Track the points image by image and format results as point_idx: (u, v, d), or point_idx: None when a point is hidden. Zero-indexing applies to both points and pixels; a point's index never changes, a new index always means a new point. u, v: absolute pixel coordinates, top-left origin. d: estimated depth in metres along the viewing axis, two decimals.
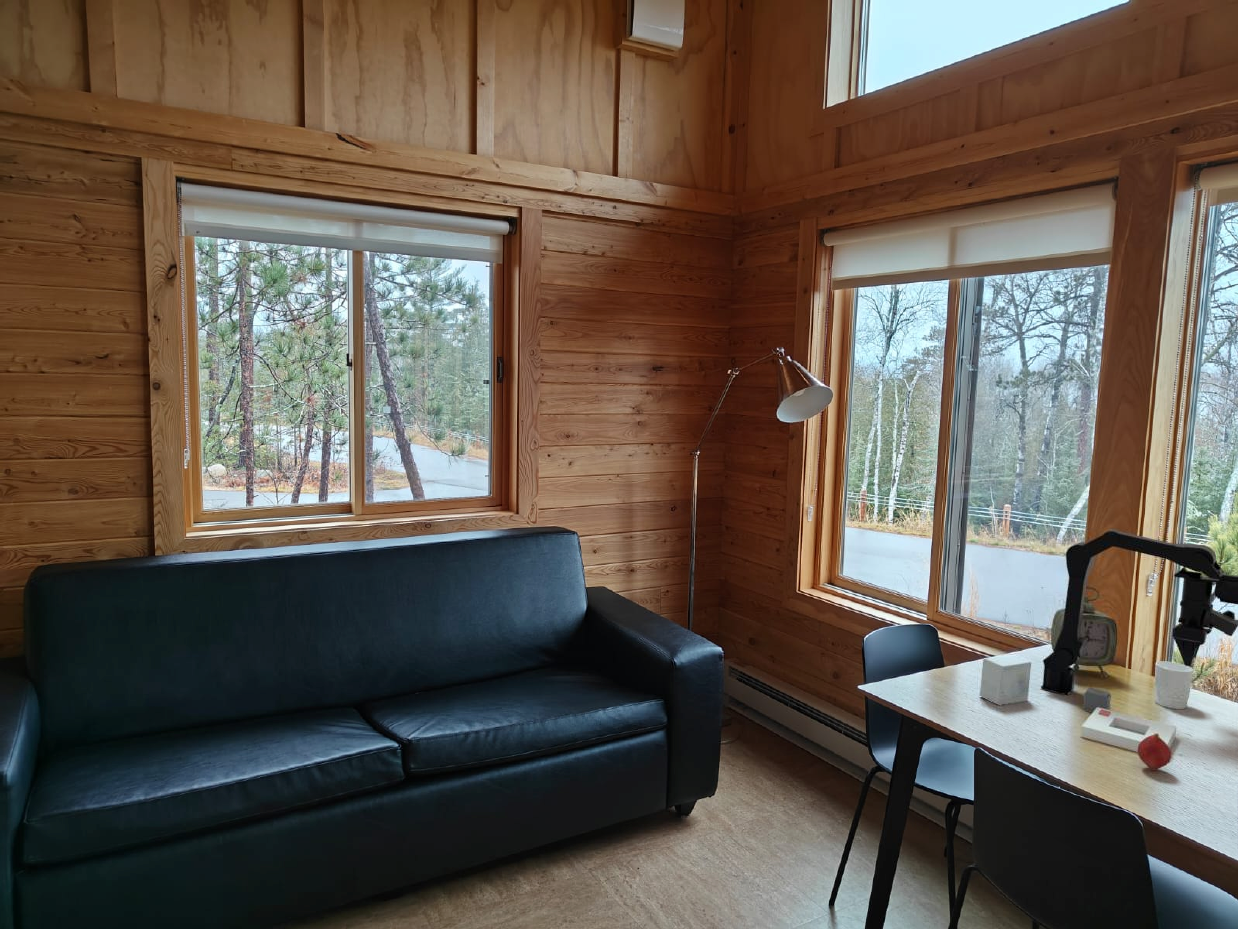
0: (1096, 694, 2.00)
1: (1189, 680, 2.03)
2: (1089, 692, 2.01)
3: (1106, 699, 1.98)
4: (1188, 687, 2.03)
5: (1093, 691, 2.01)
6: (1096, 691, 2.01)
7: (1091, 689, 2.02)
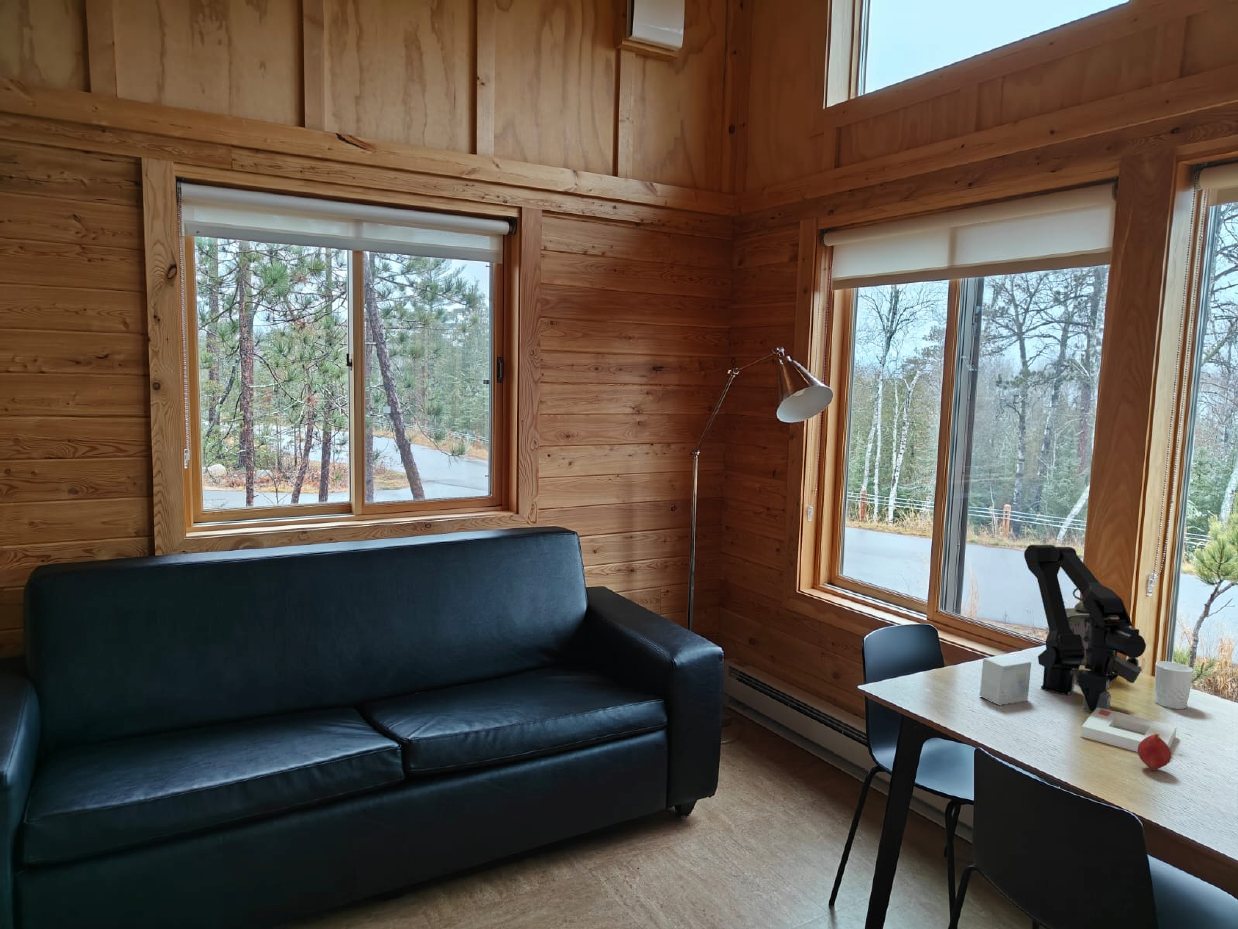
0: None
1: (1189, 680, 2.03)
2: None
3: (1106, 699, 1.98)
4: (1188, 687, 2.03)
5: None
6: None
7: None
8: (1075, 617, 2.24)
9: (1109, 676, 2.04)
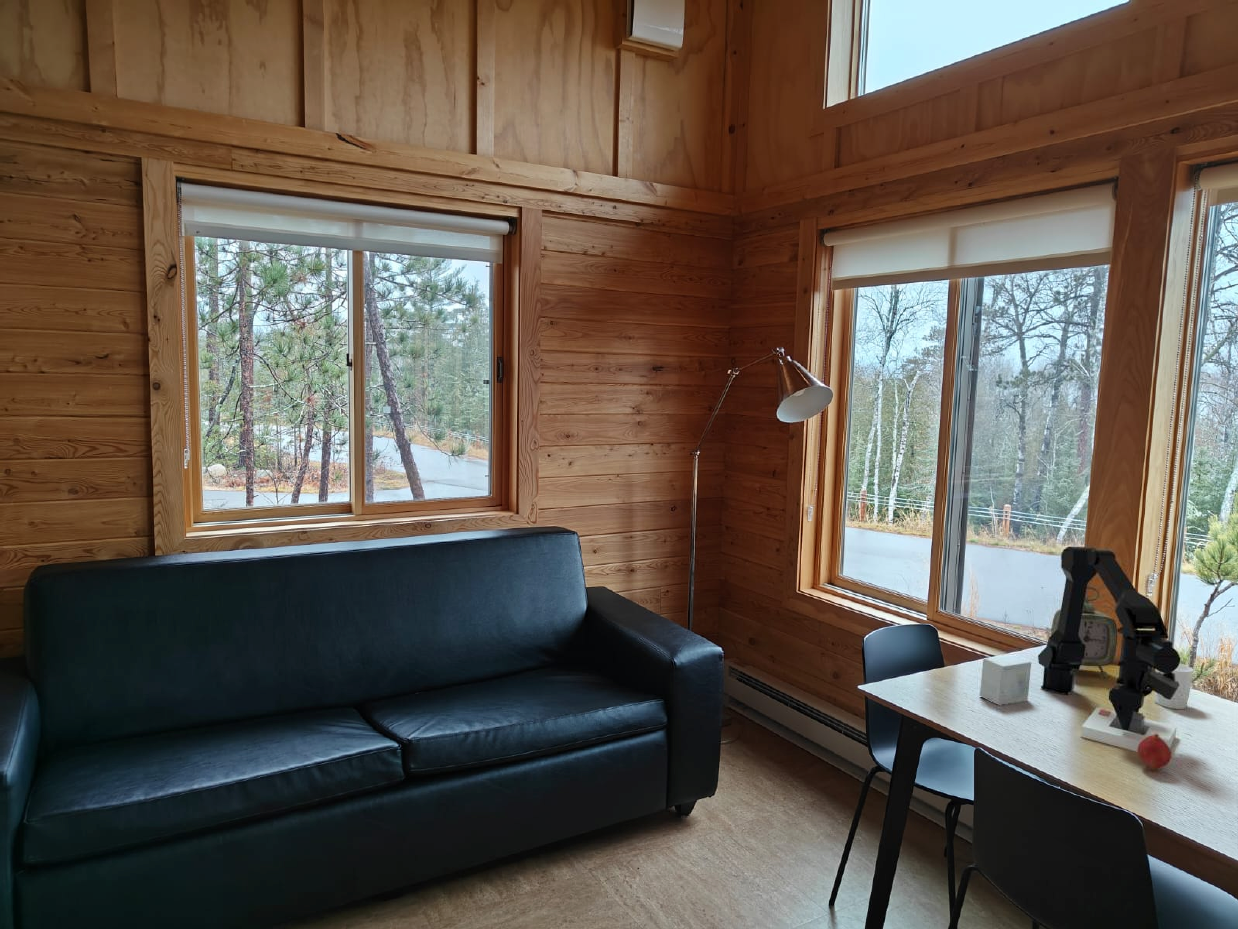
0: None
1: (1189, 680, 2.03)
2: None
3: (1140, 722, 1.82)
4: (1188, 687, 2.03)
5: None
6: None
7: None
8: None
9: (1142, 691, 1.88)
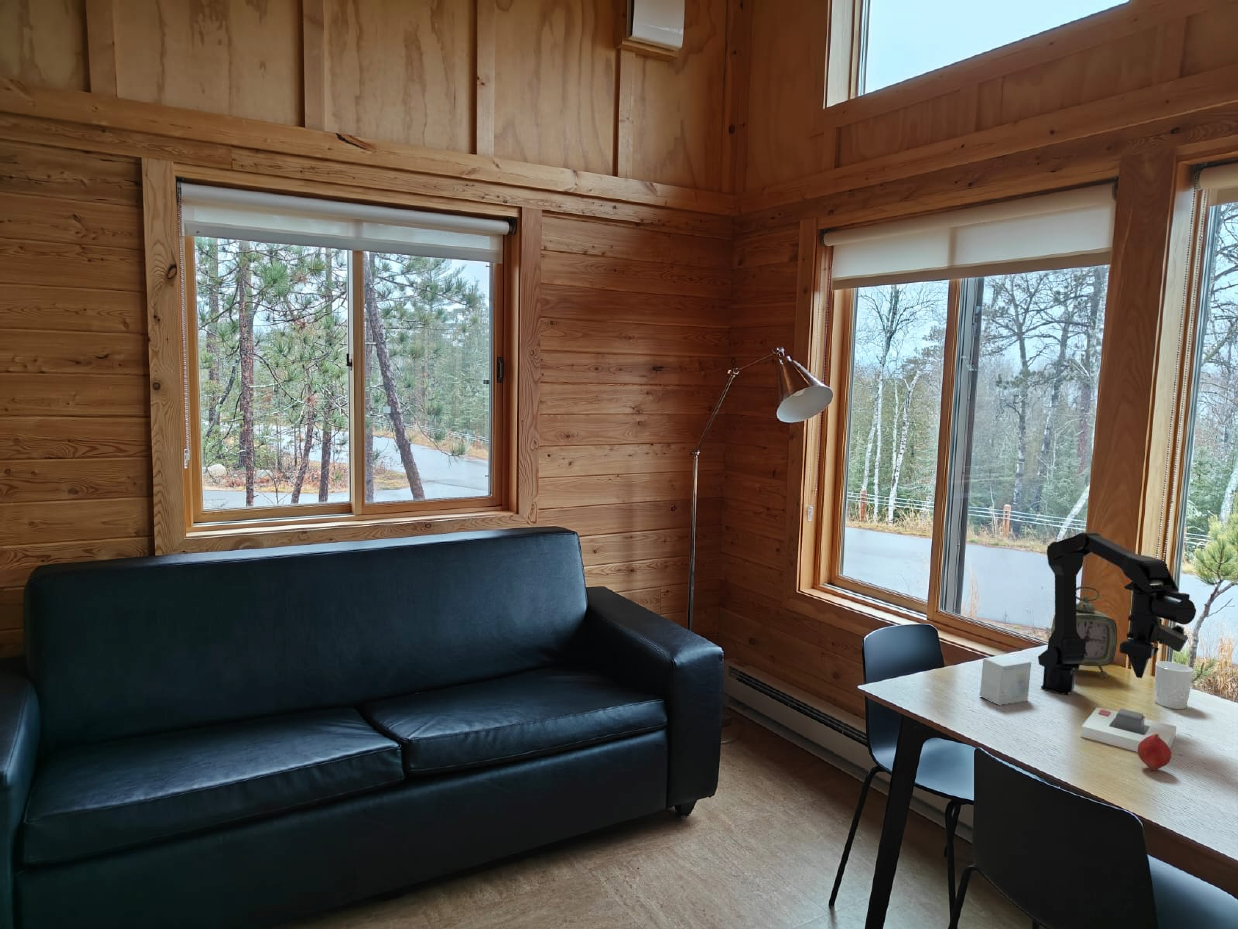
0: (1129, 716, 1.84)
1: (1189, 680, 2.03)
2: (1121, 714, 1.85)
3: (1140, 722, 1.82)
4: (1188, 687, 2.03)
5: (1125, 713, 1.85)
6: (1129, 713, 1.85)
7: (1123, 711, 1.86)
8: None
9: None
